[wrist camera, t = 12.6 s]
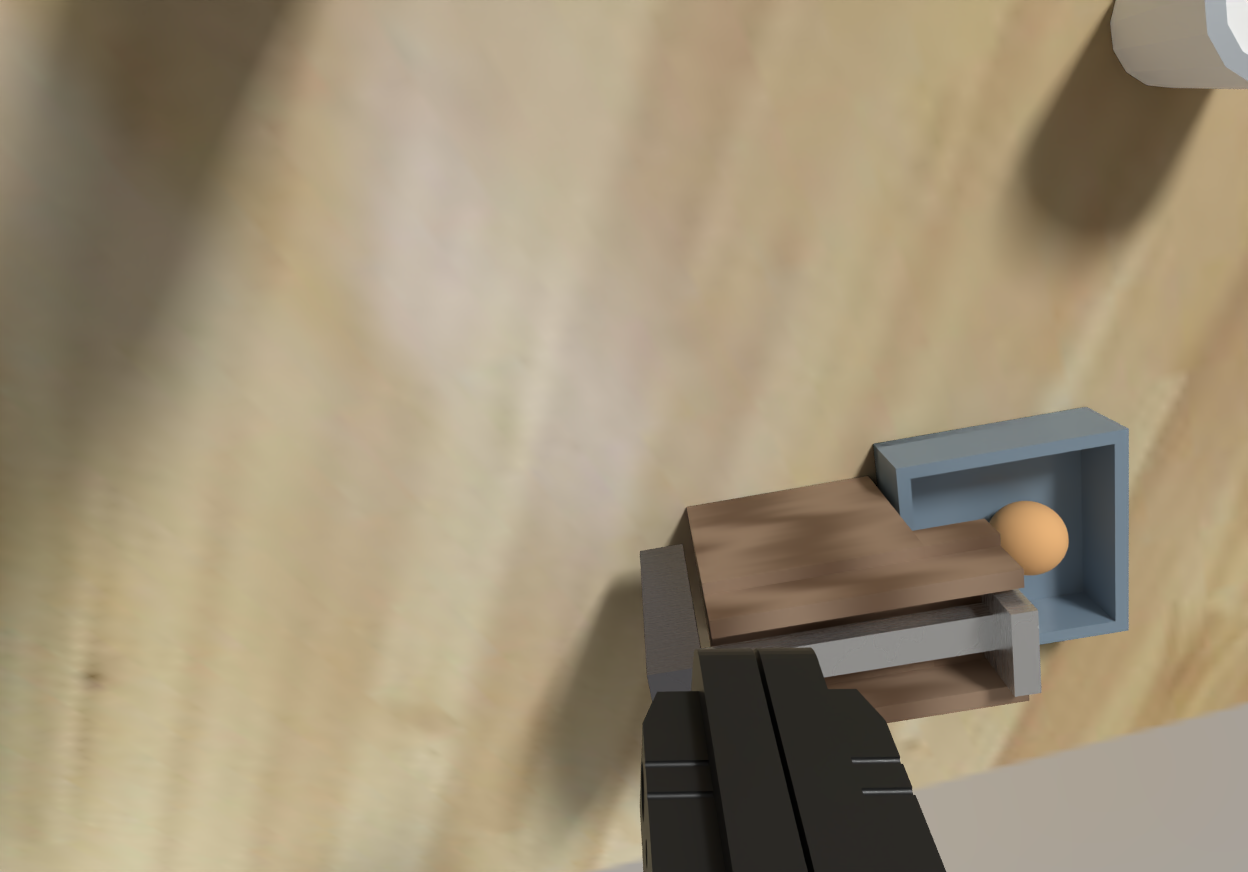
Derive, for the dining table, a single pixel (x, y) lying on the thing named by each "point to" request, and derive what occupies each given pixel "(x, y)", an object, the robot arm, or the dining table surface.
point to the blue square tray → (1031, 471)
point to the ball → (1032, 535)
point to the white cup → (1183, 42)
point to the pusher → (844, 633)
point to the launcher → (851, 583)
